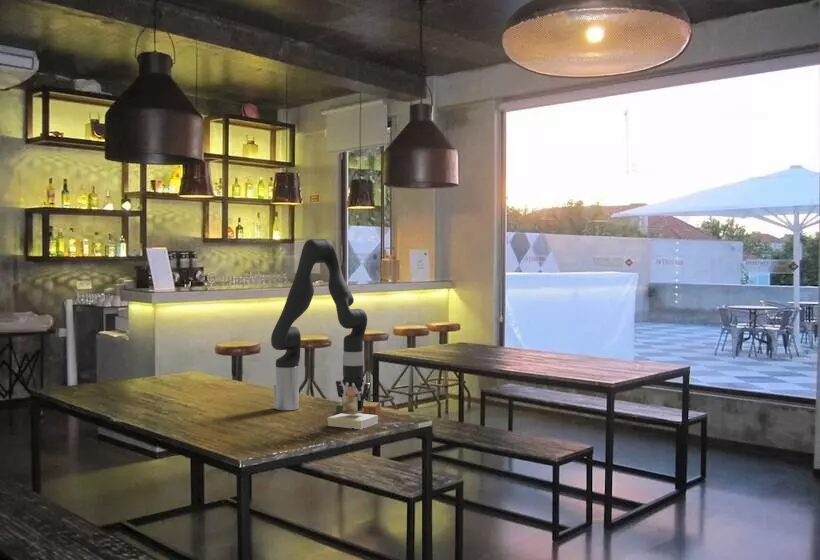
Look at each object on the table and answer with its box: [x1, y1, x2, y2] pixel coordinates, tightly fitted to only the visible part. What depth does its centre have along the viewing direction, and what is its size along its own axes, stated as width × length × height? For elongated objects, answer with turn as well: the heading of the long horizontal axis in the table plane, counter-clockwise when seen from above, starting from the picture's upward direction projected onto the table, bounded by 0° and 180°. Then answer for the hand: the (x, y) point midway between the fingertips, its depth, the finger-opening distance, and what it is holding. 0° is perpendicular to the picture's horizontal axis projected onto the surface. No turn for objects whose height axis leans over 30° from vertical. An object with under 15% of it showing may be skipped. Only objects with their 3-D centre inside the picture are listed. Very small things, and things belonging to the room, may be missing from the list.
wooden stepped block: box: [342, 395, 364, 415], centre depth 283 cm, size 5×7×6 cm
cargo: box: [347, 386, 357, 397], centre depth 283 cm, size 4×4×4 cm
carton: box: [335, 400, 381, 415], centre depth 305 cm, size 8×16×4 cm, turn 79°
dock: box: [327, 413, 379, 430], centre depth 283 cm, size 14×12×3 cm
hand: (353, 409), depth 283 cm, fingers closed on wooden stepped block, 5 cm apart
